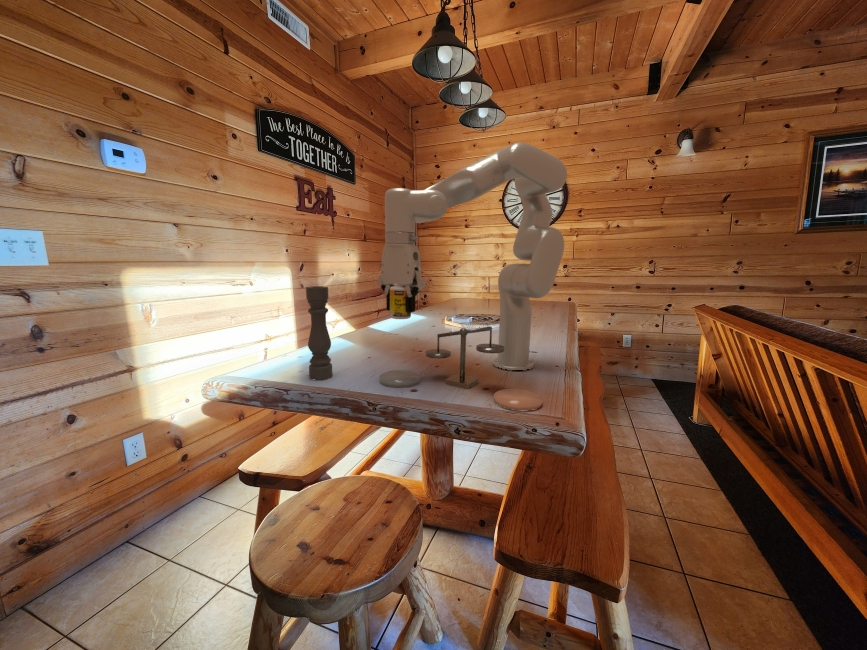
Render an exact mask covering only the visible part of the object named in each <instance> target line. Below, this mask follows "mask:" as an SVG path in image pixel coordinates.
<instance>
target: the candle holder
mask: <svg viewBox="0 0 867 650" xmlns="http://www.w3.org/2000/svg"><path fill="white" fill-rule="evenodd" d="M305 293H306V294H305V295H306V300H307V303H308V304H309V308H308V309H307V312H308V313H309V315H310V321H311V322H310V323H311V324H310V325H311V326H310V331H309V337H308V341H307V347H308V350H309V351H310V352H311V355H312V357H311V358H310V359H309V365H308V373H309V375H308V377H310V378H311V379H310V378H309V379H310V380H312V379H315V380H314V381H324V379H326V380H329V379H331V378H333V364H332V363H331V361H332V358H331V357H330V356H329V351H330V349H331V347H332V340H331V338H330V334H329V331H328V327H327V320H326V319H327V318H326V317H327V316H326V315H327V313H328V312H329V309H328V307H327V306H326V305H327V303H328V300H329V286H323V285H322V286H317V285H316V286H314V285H313V286H306V287H305ZM328 378H329V379H328Z"/></svg>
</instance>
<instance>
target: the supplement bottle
mask: <svg viewBox="0 0 867 650" xmlns="http://www.w3.org/2000/svg"><path fill="white" fill-rule="evenodd" d="M393 285H394V286H391V287H390V311H389V317H390V318H391V319H393V320H407V319H410V318H411V317H412V312H410V313H407V312H406V297H408V295H407V292H406V288H405V286H403V285H399V284H397V283H394V284H393Z"/></svg>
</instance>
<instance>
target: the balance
mask: <svg viewBox="0 0 867 650" xmlns="http://www.w3.org/2000/svg"><path fill="white" fill-rule="evenodd" d="M481 332H489V343H480V344H477V345H476V348H475V349H476V351H477V352H479V353H484V354H498V353H502V352H504V346H502V345H498V344H499V343H497V344H496V343H492V338H493V327H492V326H490V325H489V326H484V327H477V328H470V329H469V328H468V329H467V328H465V327H462V328H460V329H459V330H458V331H448V332H444V333H443V332H442V333H438V334H436V335H437V336H436V337H437V346H436V347H437V348H434V349H427V350H426V351H425V357H428V358H429V359H447V358H450V357H451V355H452V353H451V352H452V351H450V350H448V349H441V348H440V338H446V337H454V336H459V335H460V349H459V350H460V351H459V353H460V354H459V373H455V374H453V375H451V376H450V377H447V378H445V383H444V384H445V385H449V386H453V387H458V388H461V387H462V388H463V389H466V388H467V390H470V389H471V388H473V387H475V386H476V385H478V384H479V383H480V378H479V377H473V376H468V375H466V357H467V356H466V355H467V354H466V351H467V349H466V348H467V335H468V334H473V333H474V334H475V333H481ZM478 382H479V383H478ZM477 383H478V384H477ZM475 384H476V385H475ZM472 386H473V387H472ZM470 387H471V388H470ZM462 388H461V389H462Z"/></svg>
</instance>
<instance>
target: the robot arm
mask: <svg viewBox="0 0 867 650" xmlns="http://www.w3.org/2000/svg"><path fill="white" fill-rule="evenodd" d="M567 177H568V171H567V168H566V166H565V163H564V162H562V161H561V160H560V159H559V158H557V157H555V156H554V155H552V154H551V153H548V152H546V151H545V150H543V149H540V148H538V147H536V146H534V145H531V144H529V143H527V142H526V143H525V142H521V141H519V142H515V143H512V144H510V145H508V146H505V147H503V148H500V149H497V150H495V151H494V152H492V153H490V154H488V155H486V156H484V157H482V158H481V159H478V160H476V161H475V162H473V163H471V164H469V165H467V166H465V167H463V168H461V169H459V170H457V171H455V172H454V173H452V174H451V175H448V176H447V177H445V178H444V179H443V180H441V181H438V182H436V183H435V184H433V185H431V186H429V187H427V188H425V189H409V188H403V187H395V188H393V187H392V188H389V189H388V190H386V192H385V194H384V229H385V230H384V231H385V232H384V233H385V234H384V236H385V240H384V241H385V243H384V244H385V245H384V246H383V249H382V258H381V267H380V268H381V274H380V275H379V277H378V278H377V279H376V283H377V284H378V285H379V286H380V288H381V290H382V292H383V295H385V296H386V303H385V305H386V311H389V312H390V287H391V286H394V285H393V284H394V283H397V284H399V285H403V286H405V288H406V292H407V295H408V297H406V312H407V313H410V312H411V313H414V312H415V311H416V297H417V296H418V294H419V293H420V292H421V290H422V289H424V287H425V286H426V285H427V283H426V281H425V279H424V278H423V277H422V264H421V263H422V262H421V255H420V250H419V245H416V242H417V241H418V240H419V236H418V235H416V223H417V224H422V223H423V224H424V223H427V222H433V221H437V220H439V219H441V218H443V217H444V216H445V215H446V214H447V211H448V210H449V209H450V208H453V207H456V206H459V205H462V204H466V203H469V202H472V201H474V200H475V199H479V198H480V197H482V196H484V195H485V194H487V193H489V192H490V191H492V190H494V189H496V188H497V187H500V186H501V185H504V184H505V183H507V182H510V181H512V180H514V187H515V190H516V192H517V194H518V197H519V198H520V201H521V203H522V207H523V208H522V209H523V212H522V216H521V220H520V222H519V225H518V226H519V227H518V230H517V233H516V235H515V240H514V243H513V246H512V250H513V255H514V257H515V258H516V259H519V260H521V261H525V262H526V261H527V262H530V263H511V264H508V265H506V266H504V267H503V268H502V269H501V271H500V272H499V273H498V279H497V280H498V281H497V284H498V285H497V286H498V292H499V293H498V294H499V324H498V343H497V344H498V345H502V346H504V352H502V353H497V357H495V358H494V359H492V365H493V366H494V367H496V368H498V367H499V369H501V368H502V369H501V370H505V369H507V370H506V371H512V370H523V371H528V370H527V369H529V370H531V368H532V367H533V368H534V366H535V363H534V362H533V361H532V360H530V352H531V350H530V348H531V347H530V345H531V328H532V326H531V325H532V316H533V315H532V313H533V312H532V311H533V310H532V309H533V308H532V303H531V299H530V298H532V299H540V298H543V297H545V296H547V295H548V293H550V291H551V289H552V288H553V286H554V283H555V280H556V277H557V274H558V270H559V268H560V265H561V261H562V259H563V255H564V251H565V239H564V236H563V234H562V232H561V231H560V230H559V229H557V228H555V227H552V226H551V222H552V217H553V209H552V206H551V203H550V201H549V199H548V196H547V195H546V194H549V193H554V192H557V191H559V190H560V189H561V188H563V186H564V185H565V184H566V182H567ZM533 368H532V369H533Z"/></svg>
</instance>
